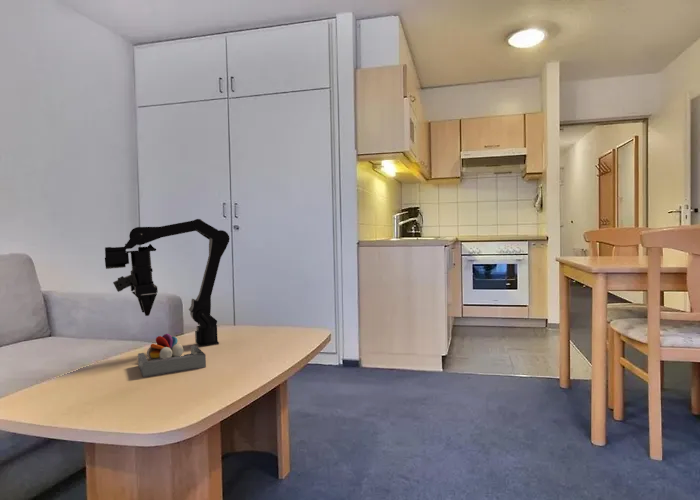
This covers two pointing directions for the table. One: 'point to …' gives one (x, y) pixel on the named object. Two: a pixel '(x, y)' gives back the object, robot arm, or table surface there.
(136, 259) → the robot arm
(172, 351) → the multicolored petal rattle
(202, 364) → the tray
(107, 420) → the table surface
